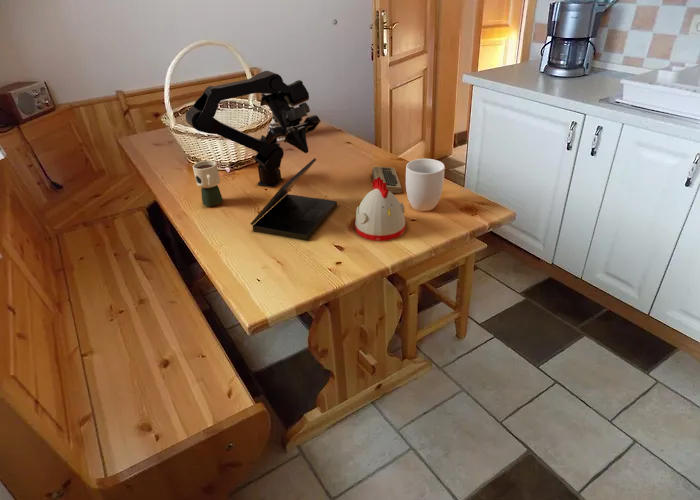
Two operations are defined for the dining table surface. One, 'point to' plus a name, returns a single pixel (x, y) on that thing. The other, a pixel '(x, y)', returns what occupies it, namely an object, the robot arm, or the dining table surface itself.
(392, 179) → the computer
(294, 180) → the laptop screen
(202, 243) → the dining table surface
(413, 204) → the mug
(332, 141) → the dining table surface
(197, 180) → the character mug
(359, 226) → the kitchen timer
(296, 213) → the laptop
